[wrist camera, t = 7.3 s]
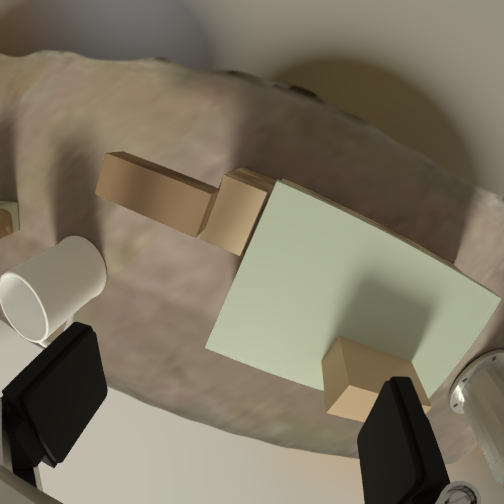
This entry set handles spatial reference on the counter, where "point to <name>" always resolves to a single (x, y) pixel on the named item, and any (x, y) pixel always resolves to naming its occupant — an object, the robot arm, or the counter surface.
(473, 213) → the counter surface
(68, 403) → the robot arm
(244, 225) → the tan wooden open box
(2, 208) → the skincare box
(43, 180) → the counter surface
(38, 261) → the mug
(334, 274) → the lid
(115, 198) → the rectangular brown block
